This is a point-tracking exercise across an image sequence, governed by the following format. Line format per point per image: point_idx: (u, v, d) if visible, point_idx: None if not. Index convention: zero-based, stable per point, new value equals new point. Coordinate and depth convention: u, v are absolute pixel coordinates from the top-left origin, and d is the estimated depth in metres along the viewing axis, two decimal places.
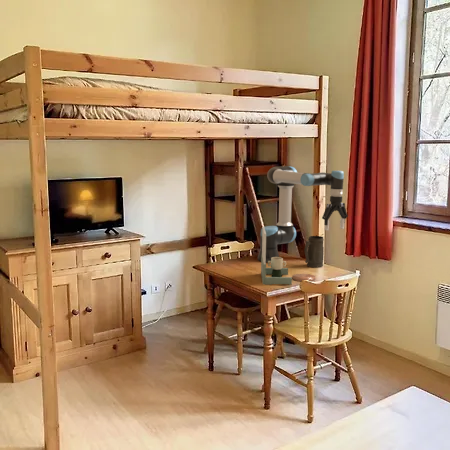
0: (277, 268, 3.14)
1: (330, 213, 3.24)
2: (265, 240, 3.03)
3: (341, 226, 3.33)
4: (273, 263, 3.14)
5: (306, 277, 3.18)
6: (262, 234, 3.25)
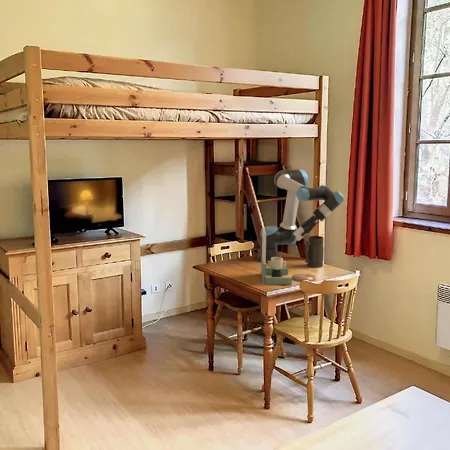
0: (277, 268, 3.14)
1: None
2: (265, 240, 3.03)
3: (296, 233, 3.20)
4: (273, 263, 3.14)
5: (306, 277, 3.18)
6: (262, 234, 3.25)
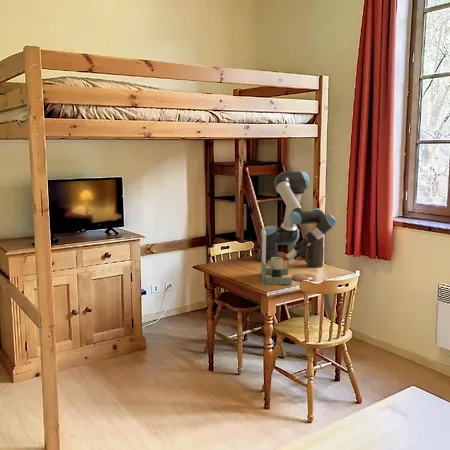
0: (277, 268, 3.14)
1: None
2: (265, 240, 3.03)
3: (289, 255, 3.22)
4: (273, 263, 3.14)
5: (306, 277, 3.18)
6: (262, 234, 3.25)
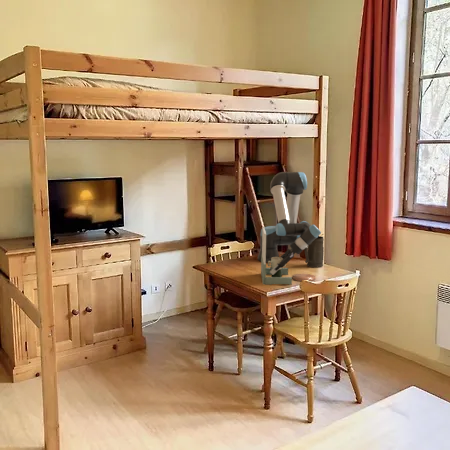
0: None
1: None
2: (265, 240, 3.03)
3: (271, 268, 3.21)
4: (273, 263, 3.14)
5: (306, 277, 3.18)
6: (262, 234, 3.25)
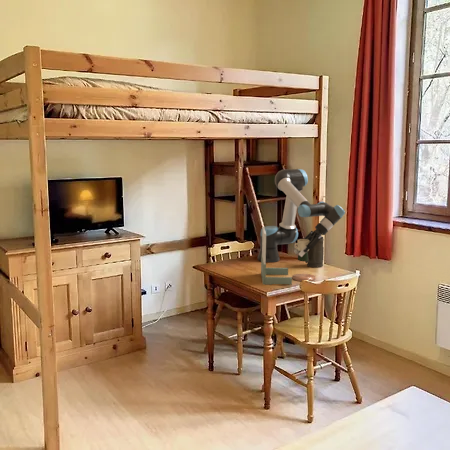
0: None
1: None
2: (265, 240, 3.03)
3: (296, 251, 3.20)
4: (301, 245, 3.13)
5: (306, 277, 3.18)
6: (262, 234, 3.25)
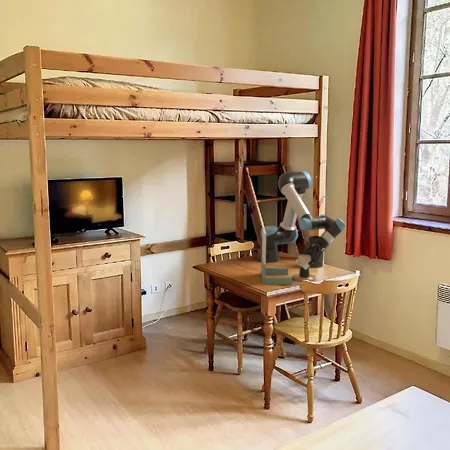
0: None
1: None
2: (265, 240, 3.03)
3: (298, 261, 3.24)
4: (302, 261, 3.15)
5: (306, 277, 3.18)
6: (262, 234, 3.25)
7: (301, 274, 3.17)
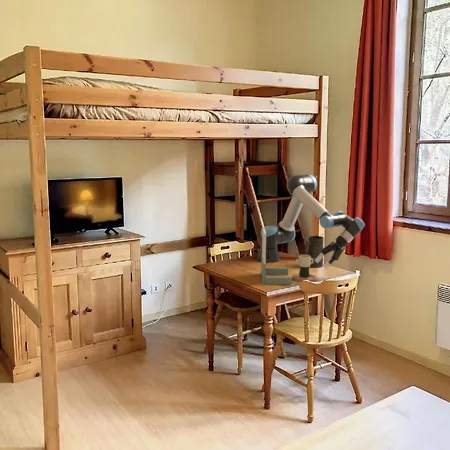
0: (307, 266, 3.15)
1: None
2: (265, 240, 3.03)
3: (317, 260, 3.27)
4: (302, 261, 3.15)
5: (306, 277, 3.18)
6: (262, 234, 3.25)
7: (301, 274, 3.17)
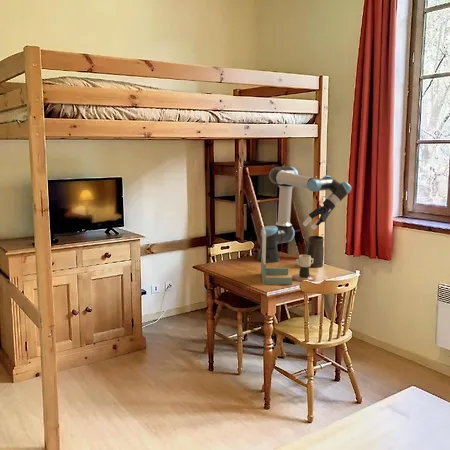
0: (307, 266, 3.15)
1: None
2: (265, 240, 3.03)
3: (305, 223, 3.34)
4: (303, 261, 3.15)
5: (306, 277, 3.18)
6: (262, 234, 3.25)
7: (301, 274, 3.17)
